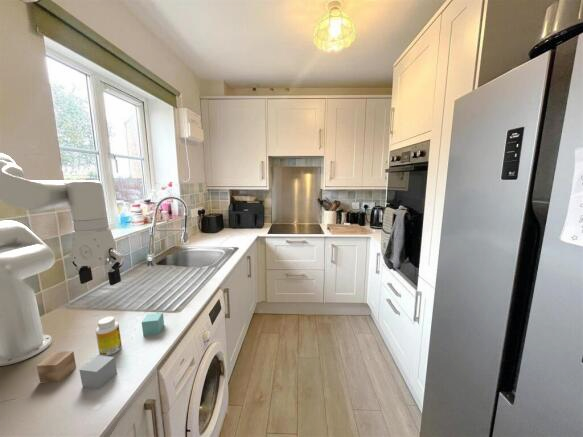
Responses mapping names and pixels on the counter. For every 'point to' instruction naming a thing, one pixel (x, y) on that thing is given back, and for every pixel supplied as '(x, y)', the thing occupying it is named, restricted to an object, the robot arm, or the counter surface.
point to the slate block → (98, 372)
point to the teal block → (153, 323)
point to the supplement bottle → (108, 336)
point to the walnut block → (56, 366)
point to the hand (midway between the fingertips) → (101, 282)
